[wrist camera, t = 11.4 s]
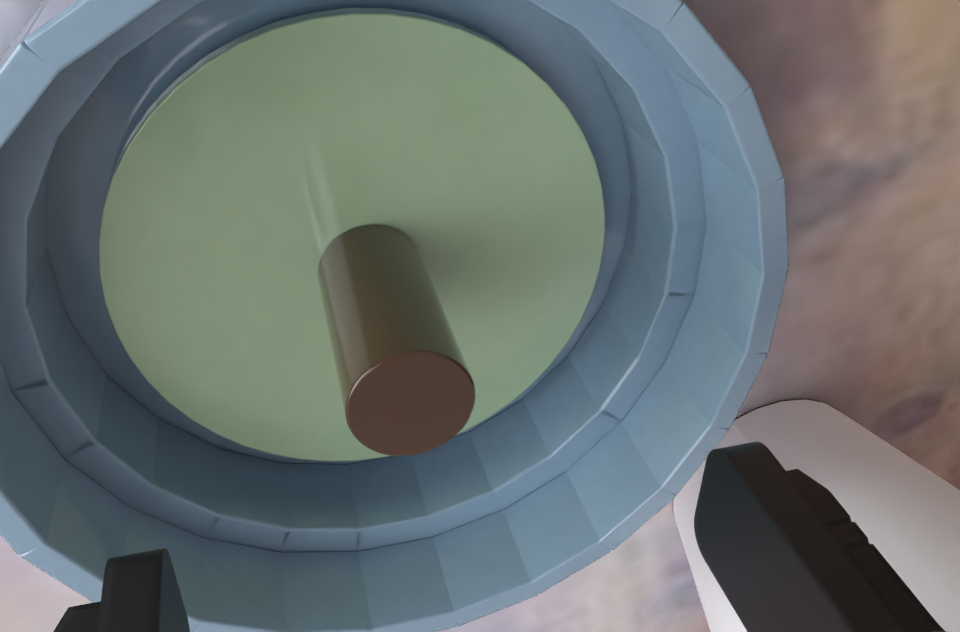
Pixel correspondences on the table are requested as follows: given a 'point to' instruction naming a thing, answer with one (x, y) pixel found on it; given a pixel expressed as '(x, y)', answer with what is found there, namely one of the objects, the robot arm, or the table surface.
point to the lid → (351, 235)
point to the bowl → (393, 479)
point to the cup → (848, 503)
